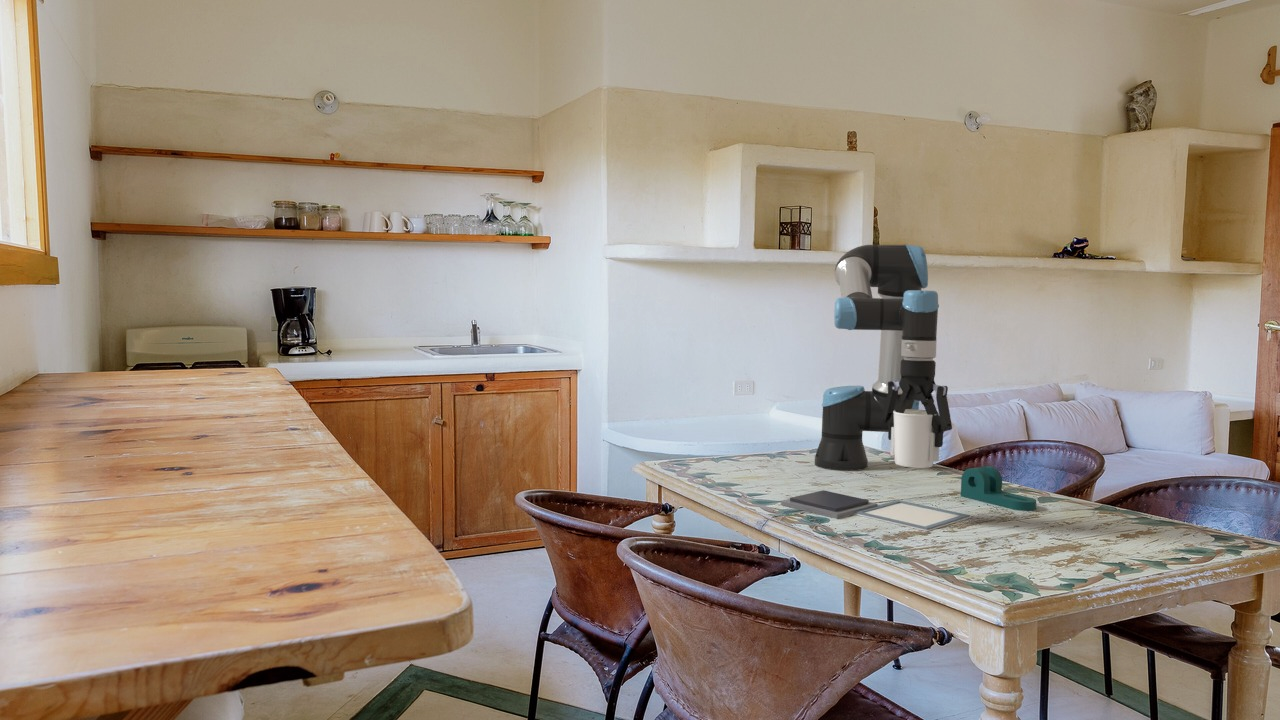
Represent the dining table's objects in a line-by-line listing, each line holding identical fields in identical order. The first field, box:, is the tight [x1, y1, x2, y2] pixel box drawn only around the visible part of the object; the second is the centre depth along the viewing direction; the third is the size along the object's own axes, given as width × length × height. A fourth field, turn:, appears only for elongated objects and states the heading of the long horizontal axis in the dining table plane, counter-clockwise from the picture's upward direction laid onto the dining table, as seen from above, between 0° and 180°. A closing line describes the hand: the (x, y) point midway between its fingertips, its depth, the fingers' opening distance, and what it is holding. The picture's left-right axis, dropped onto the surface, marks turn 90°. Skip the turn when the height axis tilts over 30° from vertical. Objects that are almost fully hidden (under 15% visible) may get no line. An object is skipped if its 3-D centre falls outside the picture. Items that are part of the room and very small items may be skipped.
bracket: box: [960, 465, 1037, 512], centre depth 216 cm, size 18×7×8 cm, turn 31°
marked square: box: [853, 499, 973, 532], centre depth 202 cm, size 19×19×1 cm
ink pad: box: [780, 490, 878, 519], centre depth 209 cm, size 16×16×2 cm
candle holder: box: [893, 409, 939, 469], centre depth 200 cm, size 10×10×12 cm
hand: (914, 457), depth 201 cm, fingers closed on candle holder, 9 cm apart
